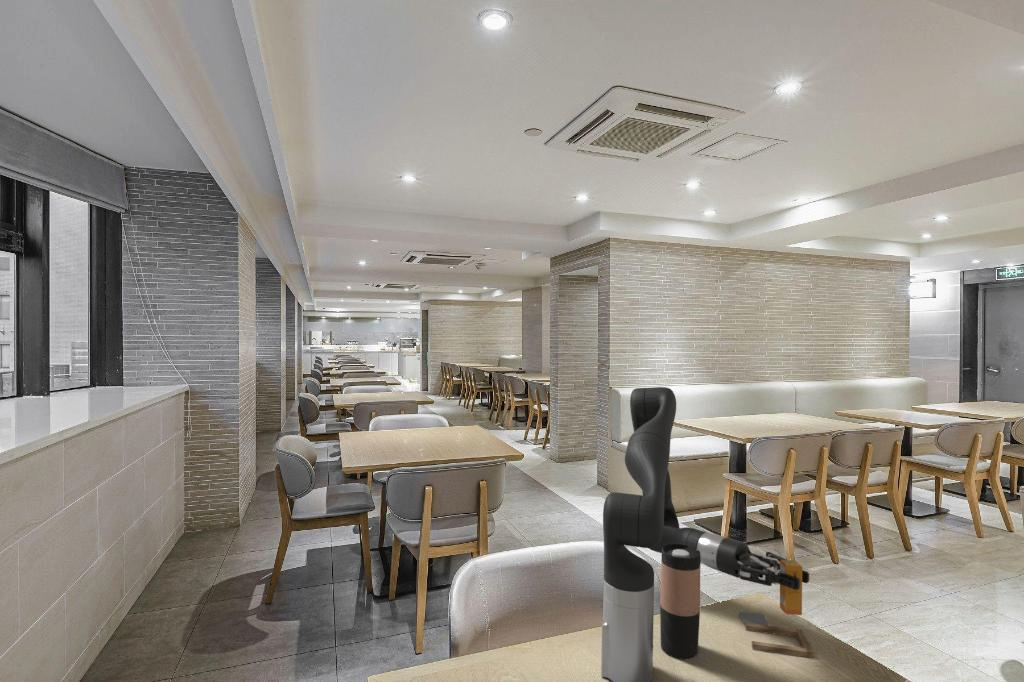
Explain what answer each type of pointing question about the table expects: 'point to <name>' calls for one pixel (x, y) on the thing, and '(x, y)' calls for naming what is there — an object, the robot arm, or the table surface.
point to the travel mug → (680, 600)
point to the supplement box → (789, 596)
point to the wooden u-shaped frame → (803, 651)
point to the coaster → (753, 618)
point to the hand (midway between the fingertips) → (803, 581)
